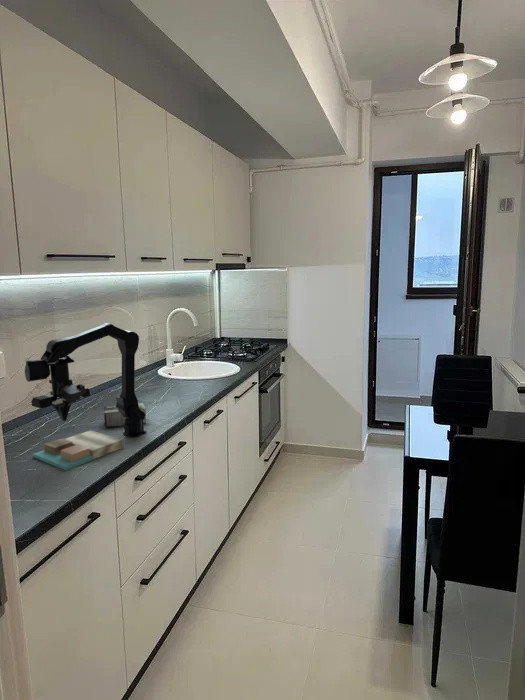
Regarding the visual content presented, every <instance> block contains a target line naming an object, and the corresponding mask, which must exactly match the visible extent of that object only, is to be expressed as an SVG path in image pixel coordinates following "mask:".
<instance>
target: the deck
mask: <svg viewBox="0 0 525 700" xmlns="http://www.w3.org/2000/svg"><path fill="white" fill-rule="evenodd" d="M64 439H65V440H68V441H71V442H72V444H73V446H74V445H77V444H79V445H82V446H85V447H88V448H90V455H91V456H93V460H94V459H97V458H99V457H102V456H105V455H108V454H111V453H112V452H115V451H118V450H120V449H123V448H124V447H123V439H121V438H117V437H115V436H112V435H107V434H105V433H102V432H100V431H99V432H98V431H94V430H91V429H90V430H87V431H85V432H82V433H78V434H76V435H73V436H70V437H66V438H64Z"/></svg>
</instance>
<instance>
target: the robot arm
mask: <svg viewBox="0 0 525 700" xmlns="http://www.w3.org/2000/svg"><path fill="white" fill-rule="evenodd" d="M108 336H109V337H110V338H112V339H115V340H116V341H117V345H118V349H119V352H120V355H121V393H120V394H119V396H116V397H115V400H116V404H115V406H116V407H117V408H118V411H119V412H120V413H122V415H123V417H126V419H125V424H124V425H123V427H124V432H122V434H123V435H125V436H129V437H131V438H136V437H138V436H141V435H144V434H147V432H148V431H147V430H144V429H145V428H144V423H143V419H145V415H146V416H147V414H145V413H144V412H142V411H141V410H140V409H139V405H138V403H139V400H138V398H137V396H136V392H135V383H136V381H135V375H136V373H135V372H136V371H135V367H136V366H135V361H136V359H135V358H136V357H135V356H136V352H137V351H138V349H139V345H140V344H139V343H140V336H139V334H138V333H137V332H135V331H131V330H126V329H125V330H124V329H122V328H120V327H117V326H115V325H114V324H111V323H107V322H106V323H102V324H101V325H99V326H97V327H93V328H91V329H89V330H86V331H83V332H80V333H78V334H75V335H73V336H67V337H59V338H54V339H51V340H50V341H48V342H47V344H46V348H45V351H44V353H42V355H41V357H40V359H35V360H31V359H29V360H26V361H25V366H24V376H25V378H26V379H25V380H26V381H27V382H28V383H30V382H36V381H37V382H38V381H42V380H47V379H48V377H49V378H50V379H48V382H49V384H51V391H50V392H49V393H50V394H49V395H51V396H47V395H44V394H43V395H38V396H35V397H32V399H31V406H32V407H35V408H38V409H44V408H49V407H51V406H52V407H53V409H54V410H55V412H56V414H57V415H58V416H59V418H60V419H61V421H62V422H66V421H67V419H68V415H69V411H70V408H71V407H72V405H73V404H75V403H76V402H77V401H79V400H81V397H82V398H87V397H90V396H91V395H92V394H91V390H90V388H89V387H85V386H86V385H85V384H84V383H80V384H75V385H74V384H73V380H72V379H71V378H70V371H69V364H71V363H75V360H74V359H73V358H71V356H70V354H73V352H75V350H77V349H78V348H80V347H83V346H85V345H88V344H90V343H93V342H96V341H98V340H101V339H102V338H103V339H104V338H105V337H108Z"/></svg>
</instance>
